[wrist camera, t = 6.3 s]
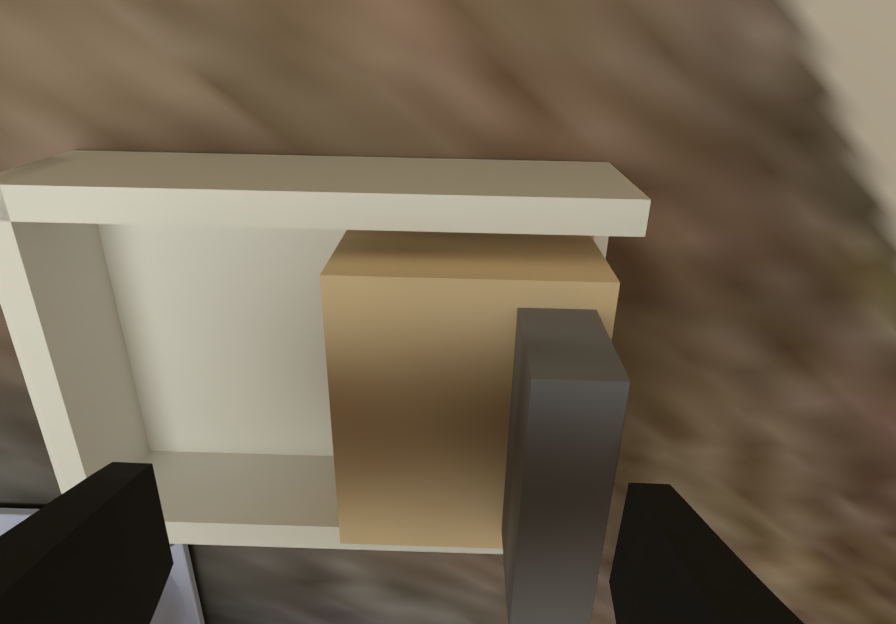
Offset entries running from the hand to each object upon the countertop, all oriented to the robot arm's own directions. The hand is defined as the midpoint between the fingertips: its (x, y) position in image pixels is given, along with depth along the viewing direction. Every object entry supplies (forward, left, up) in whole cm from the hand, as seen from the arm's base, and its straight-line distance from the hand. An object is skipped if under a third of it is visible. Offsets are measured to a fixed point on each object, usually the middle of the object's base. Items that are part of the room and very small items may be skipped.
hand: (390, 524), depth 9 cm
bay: (-1, +2, -9) cm, 10 cm away
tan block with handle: (-1, -1, -8) cm, 8 cm away
